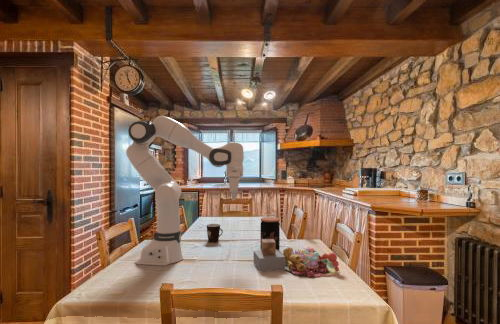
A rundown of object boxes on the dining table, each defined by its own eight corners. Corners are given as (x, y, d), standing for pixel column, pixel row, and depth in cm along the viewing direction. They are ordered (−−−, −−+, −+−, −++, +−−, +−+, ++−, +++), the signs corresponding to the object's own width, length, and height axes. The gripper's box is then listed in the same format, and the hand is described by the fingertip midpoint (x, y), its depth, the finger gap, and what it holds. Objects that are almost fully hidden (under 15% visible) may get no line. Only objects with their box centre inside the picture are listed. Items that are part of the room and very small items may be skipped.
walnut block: (262, 255, 131) (263, 242, 131) (261, 251, 137) (261, 239, 137) (275, 255, 132) (275, 242, 132) (273, 251, 138) (273, 239, 138)
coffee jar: (258, 253, 153) (258, 219, 154) (262, 247, 164) (262, 216, 164) (278, 254, 151) (278, 220, 151) (280, 248, 161) (280, 217, 161)
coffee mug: (204, 240, 179) (204, 224, 180) (217, 238, 183) (217, 223, 183) (210, 244, 169) (210, 228, 169) (223, 243, 172) (223, 226, 173)
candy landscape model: (296, 281, 117) (296, 258, 117) (275, 262, 139) (275, 243, 139) (348, 274, 124) (348, 253, 124) (320, 258, 146) (320, 240, 146)
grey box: (259, 271, 127) (259, 258, 127) (253, 262, 138) (253, 250, 139) (284, 269, 129) (284, 256, 129) (276, 261, 141) (276, 249, 141)
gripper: (229, 172, 158) (228, 197, 157) (227, 173, 137) (226, 201, 137) (240, 173, 158) (239, 197, 157) (240, 173, 137) (239, 202, 137)
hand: (233, 199), depth 147 cm, fingers open, 8 cm apart
